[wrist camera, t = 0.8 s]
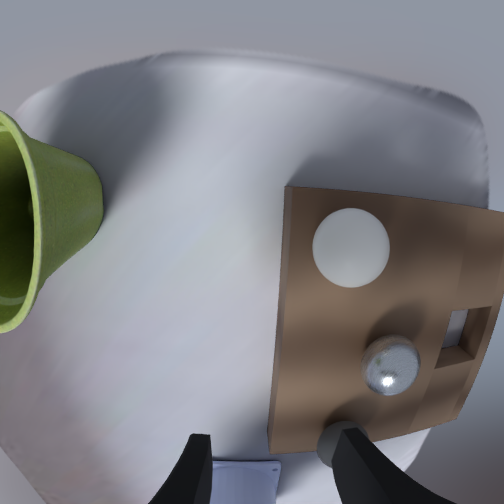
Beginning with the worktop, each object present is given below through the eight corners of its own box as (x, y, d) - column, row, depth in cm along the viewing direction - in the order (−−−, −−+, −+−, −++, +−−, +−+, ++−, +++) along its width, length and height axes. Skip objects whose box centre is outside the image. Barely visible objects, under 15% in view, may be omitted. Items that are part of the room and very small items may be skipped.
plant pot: (82, 304, 17) (6, 372, 9) (1, 217, 16) (-86, 240, 7) (161, 190, 16) (87, 197, 8) (62, 104, 14) (-29, 72, 6)
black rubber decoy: (353, 440, 18) (367, 473, 14) (308, 445, 18) (317, 481, 14) (365, 407, 17) (383, 442, 14) (316, 413, 17) (328, 451, 14)
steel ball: (395, 370, 16) (420, 402, 13) (347, 376, 16) (366, 412, 13) (409, 322, 16) (439, 349, 12) (358, 326, 16) (383, 358, 12)
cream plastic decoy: (366, 274, 15) (397, 298, 11) (302, 273, 15) (320, 300, 11) (373, 207, 14) (408, 215, 11) (307, 203, 14) (328, 209, 11)
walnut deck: (443, 403, 21) (456, 418, 18) (267, 431, 20) (269, 454, 18) (494, 210, 17) (516, 215, 15) (284, 186, 16) (292, 186, 14)
